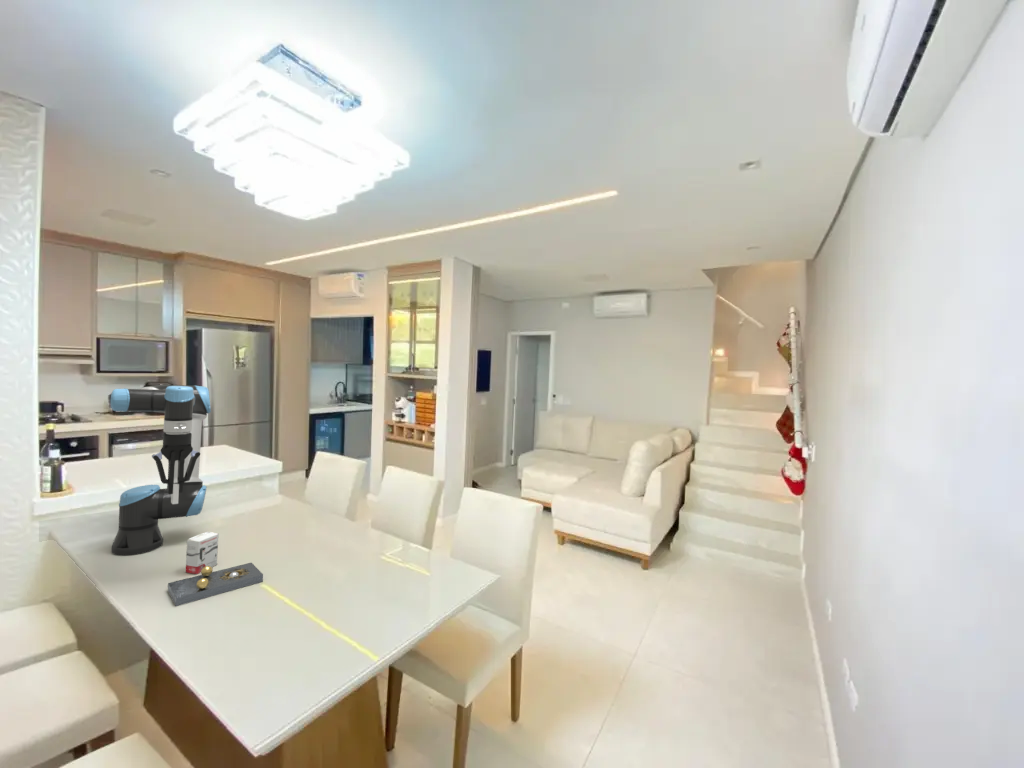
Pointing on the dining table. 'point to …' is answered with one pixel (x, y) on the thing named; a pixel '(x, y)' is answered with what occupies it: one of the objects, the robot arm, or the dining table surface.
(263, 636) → the dining table surface
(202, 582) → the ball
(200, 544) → the ink box
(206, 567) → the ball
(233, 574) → the steel ball
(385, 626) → the dining table surface
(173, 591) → the plate
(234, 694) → the dining table surface
